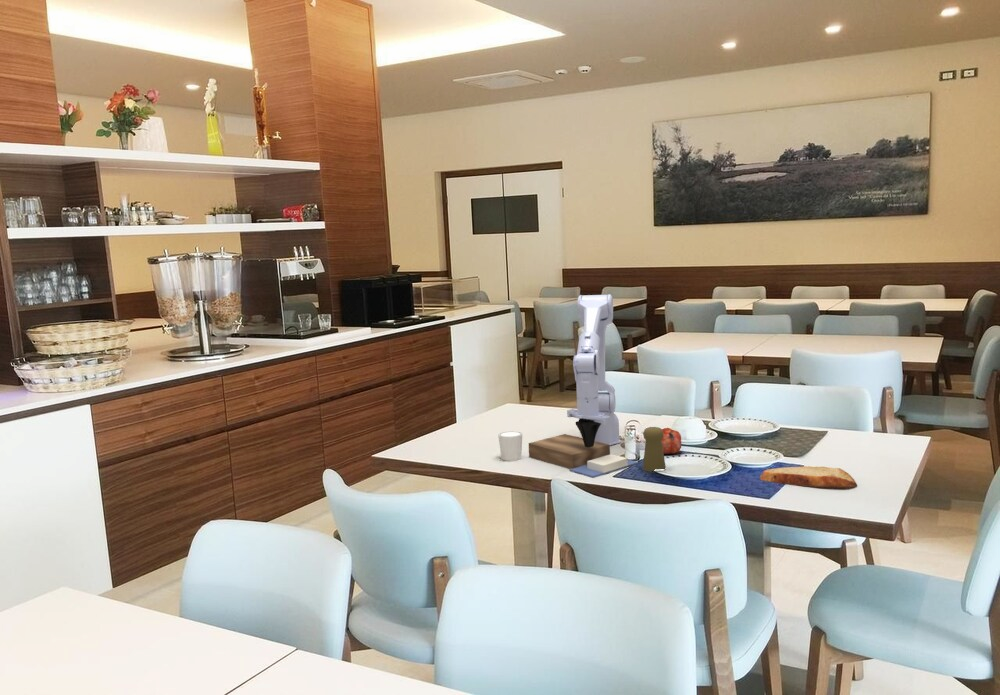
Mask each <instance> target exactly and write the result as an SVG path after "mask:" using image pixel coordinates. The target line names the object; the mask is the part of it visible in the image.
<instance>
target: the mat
mask: <svg viewBox="0 0 1000 695" xmlns="http://www.w3.org/2000/svg"><path fill="white" fill-rule="evenodd" d="M627 461H628V466H625V467H621V468H618V469H615V470H612V471H609V472H605V473H602V472H598V471H595V470H591V469H588V468H587V465H583V466H580V467H577V468H573V469H569V472H572V473H576V474H579V475H581V476H582V475H583V476H585V477H589V478H593V479H594V478H596V477H599V476H603V475H607V474H609V473H614V472H616V471H619V470H622V469H626V468H629V467H633V466H635V465H638V464H639V462H638V461H635V460H631V459H627Z"/></svg>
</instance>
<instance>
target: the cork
mask: <svg viewBox="0 0 1000 695" xmlns="http://www.w3.org/2000/svg"><path fill="white" fill-rule="evenodd" d="M662 429H663V428H661V427H658V426H647V427H646V428H645V429H644V430H643V439H644V440H645V442H644V445H645V446H644V453H643V460H642V461H643V463H642V470H643V471H646V472H650V473H652V471H653V473H655V472H654V470H655V469H665V468H666V469H667V467H666V460H665V454H664V453H663V447H662V439H663V430H662ZM666 469H665V470H666Z"/></svg>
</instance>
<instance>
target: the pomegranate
mask: <svg viewBox="0 0 1000 695" xmlns="http://www.w3.org/2000/svg"><path fill="white" fill-rule="evenodd" d="M661 429H662V430H663V439H662V447H663V453H664V455H670V454H674V455H675V454H677V453H679V451H681V449H682V435H681V433H680V432H679V431H678V430H674V429H672V428H670V427H665V428H661Z"/></svg>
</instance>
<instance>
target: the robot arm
mask: <svg viewBox="0 0 1000 695" xmlns="http://www.w3.org/2000/svg"><path fill="white" fill-rule="evenodd" d="M576 304H577V306H576V307H577V314H578V316H579V319H580V321H581V323H582V324H583V332H582V333H581V334H580V335H579V337H578V345H577V349H576V350H577V352H576V355H575V354H574V355H573V360H572V363H573V364H572V365H573V366H572V367H573V372H574V380H575V382H576V384H575V385H576V409H574V408H571V409H568V410H566V415H567V416H566V417H567V418H575V419H578V421H575V425H576V427H577V429H578V431H579V433H580V435H581V438H583V442H584V445H585V447H588V448H589V447H592V446H594V441H597V442H601V443H605V444H610V446H613V445H617V444H620V443H622V440H620V423H619V418H618V416H617V414H616V413H615V411H616V405H617V404H616V403H617V401H616V400H617V399H616V389H615V387H614V386H613V385H612V384H611V383H609V382H608V381H606V330H607V326H608V325H610V324H612V323H613V320H614V298H613V296H612V295H611V294H610V293H609V294H592V295H591V294H587V295H584V294H583V295H582V294H579V296H578V297H577V303H576ZM606 391H607V392H606Z"/></svg>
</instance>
